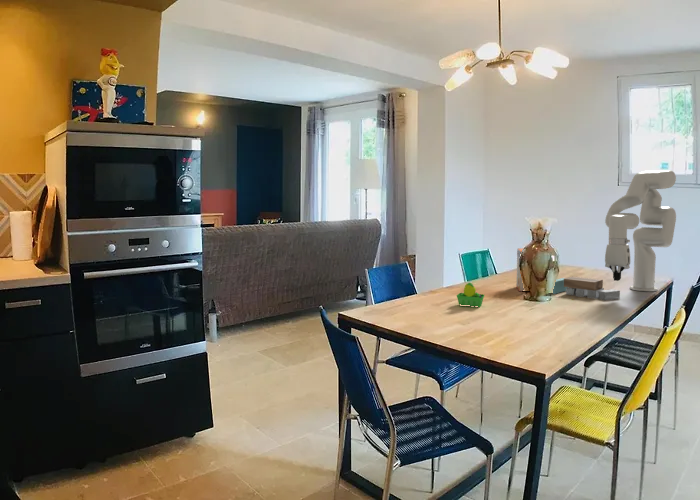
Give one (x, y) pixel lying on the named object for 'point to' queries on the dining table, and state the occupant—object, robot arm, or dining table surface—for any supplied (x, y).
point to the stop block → (559, 286)
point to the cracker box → (519, 279)
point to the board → (583, 283)
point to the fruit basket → (470, 296)
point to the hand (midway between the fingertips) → (617, 280)
